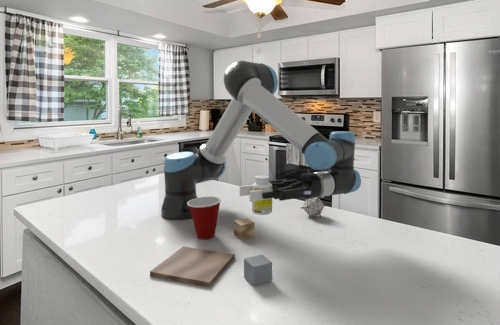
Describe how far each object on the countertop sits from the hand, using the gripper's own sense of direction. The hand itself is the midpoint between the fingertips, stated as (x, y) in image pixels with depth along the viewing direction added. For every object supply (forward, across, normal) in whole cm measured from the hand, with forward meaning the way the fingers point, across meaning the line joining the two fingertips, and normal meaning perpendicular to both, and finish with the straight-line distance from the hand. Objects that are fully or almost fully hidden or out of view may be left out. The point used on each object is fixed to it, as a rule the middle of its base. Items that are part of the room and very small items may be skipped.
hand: (245, 193), depth 91 cm
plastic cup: (+5, +19, -18) cm, 27 cm away
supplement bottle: (-5, 0, -6) cm, 8 cm away
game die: (-38, +20, -18) cm, 46 cm away
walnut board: (+15, 0, -18) cm, 23 cm away
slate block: (+3, -13, -18) cm, 22 cm away
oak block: (-6, +14, -18) cm, 23 cm away
